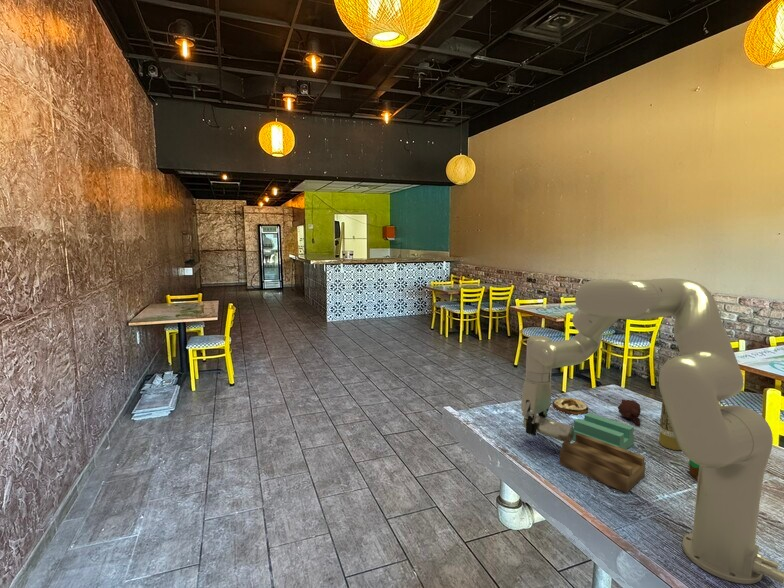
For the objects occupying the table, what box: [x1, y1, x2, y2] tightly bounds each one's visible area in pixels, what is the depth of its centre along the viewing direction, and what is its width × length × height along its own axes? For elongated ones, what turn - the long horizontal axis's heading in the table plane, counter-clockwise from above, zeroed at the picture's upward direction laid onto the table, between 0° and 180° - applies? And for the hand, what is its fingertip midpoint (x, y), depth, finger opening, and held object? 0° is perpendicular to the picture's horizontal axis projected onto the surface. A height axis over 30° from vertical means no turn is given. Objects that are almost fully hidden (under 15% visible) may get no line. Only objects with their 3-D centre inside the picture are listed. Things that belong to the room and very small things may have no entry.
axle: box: [522, 414, 574, 443], centre depth 126 cm, size 14×5×5 cm, turn 39°
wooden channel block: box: [558, 433, 647, 494], centre depth 114 cm, size 18×12×6 cm, turn 39°
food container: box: [688, 458, 700, 482], centre depth 111 cm, size 12×6×10 cm, turn 141°
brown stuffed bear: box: [617, 399, 642, 426], centre depth 148 cm, size 7×7×15 cm
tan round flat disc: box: [551, 397, 589, 416], centre depth 157 cm, size 15×15×4 cm
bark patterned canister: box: [658, 398, 682, 451], centre depth 126 cm, size 7×7×25 cm
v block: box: [572, 412, 635, 450], centre depth 130 cm, size 14×12×6 cm
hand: (535, 430), depth 130 cm, fingers closed on axle, 5 cm apart
